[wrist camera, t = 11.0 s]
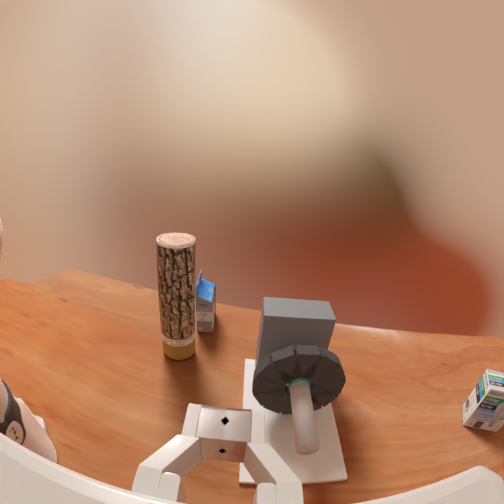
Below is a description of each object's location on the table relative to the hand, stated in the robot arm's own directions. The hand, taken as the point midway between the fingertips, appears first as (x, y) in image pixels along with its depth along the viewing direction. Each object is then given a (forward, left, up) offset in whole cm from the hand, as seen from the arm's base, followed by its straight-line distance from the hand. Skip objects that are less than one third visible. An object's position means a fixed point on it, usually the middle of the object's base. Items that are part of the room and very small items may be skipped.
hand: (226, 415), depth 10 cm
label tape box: (-8, +51, -32) cm, 61 cm away
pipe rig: (+10, +24, -32) cm, 41 cm away
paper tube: (-12, +39, -32) cm, 52 cm away
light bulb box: (+52, +16, -32) cm, 63 cm away
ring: (+10, +24, -30) cm, 40 cm away
